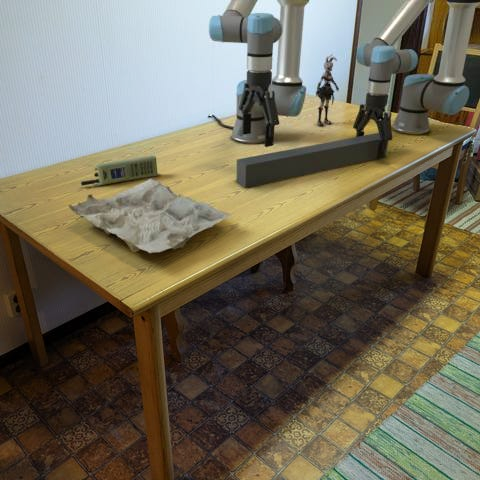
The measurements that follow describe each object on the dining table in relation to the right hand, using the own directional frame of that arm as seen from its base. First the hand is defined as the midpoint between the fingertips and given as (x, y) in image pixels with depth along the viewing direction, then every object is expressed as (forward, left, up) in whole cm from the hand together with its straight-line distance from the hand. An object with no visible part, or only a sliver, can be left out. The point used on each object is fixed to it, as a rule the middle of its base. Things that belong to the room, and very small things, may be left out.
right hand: (369, 153), depth 188 cm
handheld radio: (+72, -55, -2) cm, 91 cm away
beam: (+22, -10, -2) cm, 24 cm away
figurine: (-27, -34, -2) cm, 43 cm away
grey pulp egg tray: (+89, -24, -2) cm, 92 cm away
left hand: (+45, -20, +13) cm, 50 cm away
